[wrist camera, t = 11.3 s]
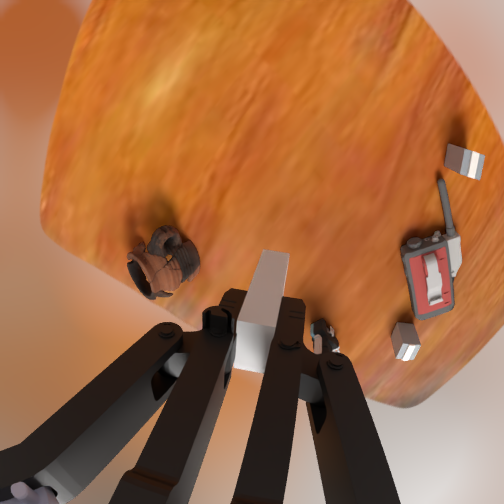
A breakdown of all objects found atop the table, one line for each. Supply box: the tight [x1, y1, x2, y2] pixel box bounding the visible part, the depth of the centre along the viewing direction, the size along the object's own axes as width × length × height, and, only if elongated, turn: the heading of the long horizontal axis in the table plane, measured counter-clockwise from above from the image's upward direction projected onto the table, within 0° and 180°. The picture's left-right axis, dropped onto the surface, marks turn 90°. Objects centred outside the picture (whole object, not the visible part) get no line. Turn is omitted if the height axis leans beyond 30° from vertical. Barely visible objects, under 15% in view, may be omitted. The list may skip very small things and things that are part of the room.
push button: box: [310, 318, 340, 356], centre depth 42 cm, size 7×5×10 cm
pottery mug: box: [127, 225, 200, 300], centre depth 43 cm, size 12×10×8 cm
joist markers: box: [391, 143, 485, 361], centre depth 36 cm, size 30×3×5 cm, turn 175°
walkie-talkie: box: [400, 179, 462, 320], centre depth 36 cm, size 9×4×20 cm
